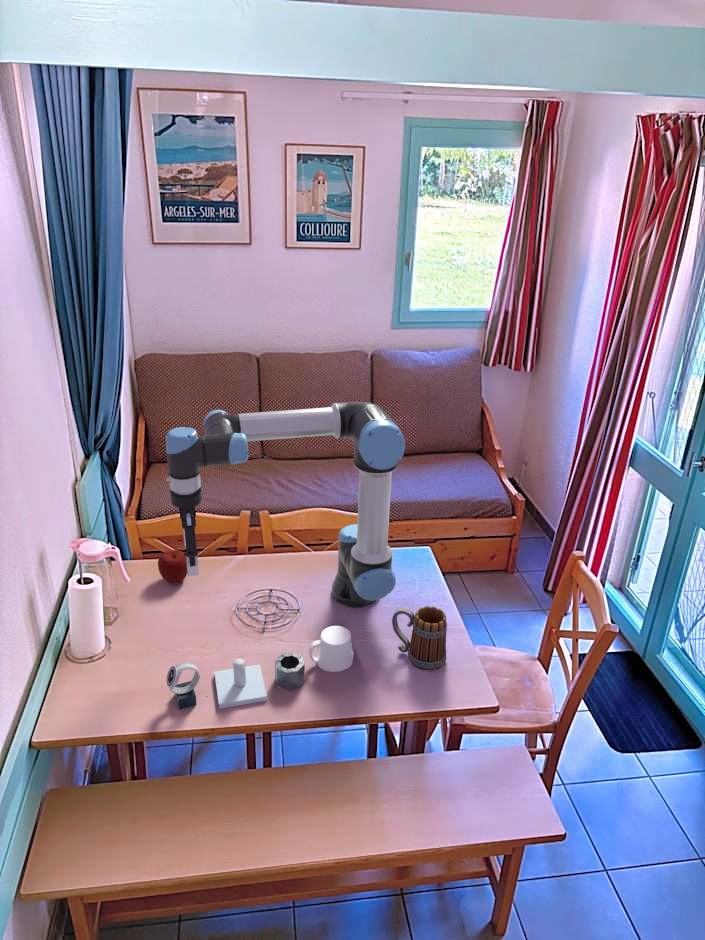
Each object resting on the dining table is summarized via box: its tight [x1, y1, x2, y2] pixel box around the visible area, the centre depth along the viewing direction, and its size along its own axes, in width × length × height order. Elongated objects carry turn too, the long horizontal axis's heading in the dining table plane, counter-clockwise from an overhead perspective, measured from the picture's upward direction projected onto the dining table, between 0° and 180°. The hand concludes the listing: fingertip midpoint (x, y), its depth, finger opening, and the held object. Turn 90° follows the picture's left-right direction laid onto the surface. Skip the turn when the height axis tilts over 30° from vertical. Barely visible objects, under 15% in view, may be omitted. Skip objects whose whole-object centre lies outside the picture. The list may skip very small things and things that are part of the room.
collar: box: [274, 651, 306, 691], centre depth 190 cm, size 7×7×6 cm
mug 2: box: [391, 605, 448, 672], centre depth 197 cm, size 16×11×15 cm
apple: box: [157, 549, 188, 585], centre depth 227 cm, size 10×10×10 cm
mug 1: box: [308, 625, 354, 673], centre depth 195 cm, size 12×9×8 cm
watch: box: [166, 662, 201, 710], centre depth 181 cm, size 6×8×11 cm
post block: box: [213, 658, 268, 709], centre depth 186 cm, size 12×12×8 cm
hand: (191, 560), depth 190 cm, fingers open, 13 cm apart
